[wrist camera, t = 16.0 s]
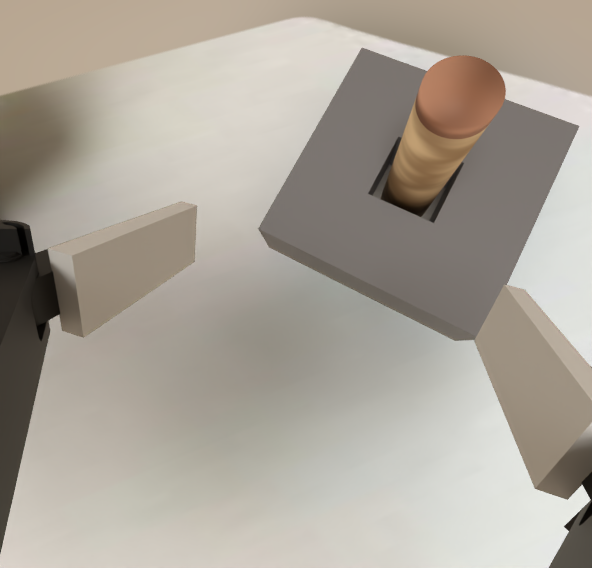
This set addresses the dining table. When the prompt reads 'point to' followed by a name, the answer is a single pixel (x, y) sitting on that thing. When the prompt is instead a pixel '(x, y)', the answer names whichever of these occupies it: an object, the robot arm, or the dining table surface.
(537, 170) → the socket block
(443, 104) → the oak peg
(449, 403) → the dining table surface
